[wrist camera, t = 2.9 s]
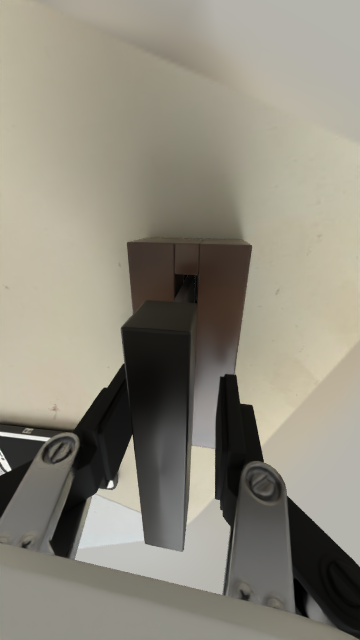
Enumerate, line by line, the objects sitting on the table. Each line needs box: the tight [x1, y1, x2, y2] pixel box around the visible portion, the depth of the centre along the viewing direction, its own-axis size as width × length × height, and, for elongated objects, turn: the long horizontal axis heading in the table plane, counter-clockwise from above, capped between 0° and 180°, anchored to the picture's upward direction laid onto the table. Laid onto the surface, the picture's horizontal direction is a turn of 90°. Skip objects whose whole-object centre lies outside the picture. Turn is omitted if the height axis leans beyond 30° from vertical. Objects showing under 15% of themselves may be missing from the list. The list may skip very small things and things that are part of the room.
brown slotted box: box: [127, 238, 252, 449], centre depth 15 cm, size 14×6×4 cm, turn 179°
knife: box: [121, 275, 198, 552], centre depth 12 cm, size 11×2×10 cm, turn 179°
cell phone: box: [0, 424, 118, 490], centre depth 24 cm, size 8×15×1 cm, turn 92°
